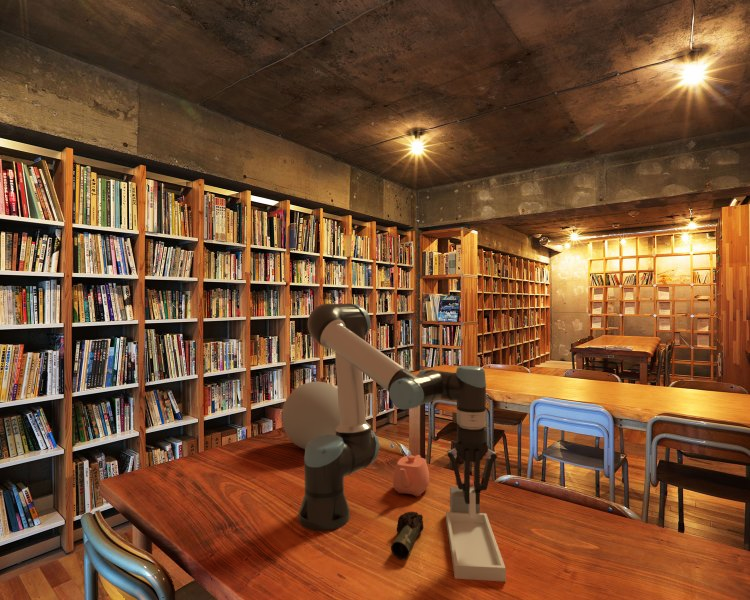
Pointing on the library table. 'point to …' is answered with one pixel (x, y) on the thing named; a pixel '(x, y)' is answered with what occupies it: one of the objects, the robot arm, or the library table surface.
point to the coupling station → (472, 541)
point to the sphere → (311, 412)
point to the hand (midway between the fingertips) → (472, 515)
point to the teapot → (411, 475)
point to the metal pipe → (406, 534)
